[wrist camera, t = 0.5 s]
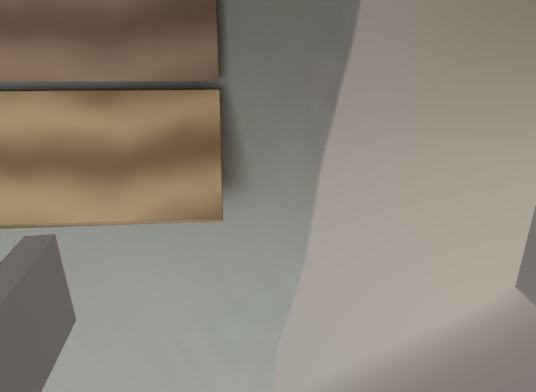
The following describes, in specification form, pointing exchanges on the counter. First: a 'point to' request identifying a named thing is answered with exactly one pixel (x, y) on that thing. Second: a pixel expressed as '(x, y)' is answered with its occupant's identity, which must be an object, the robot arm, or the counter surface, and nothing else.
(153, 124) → the oak plank
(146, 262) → the counter surface
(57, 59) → the walnut board
